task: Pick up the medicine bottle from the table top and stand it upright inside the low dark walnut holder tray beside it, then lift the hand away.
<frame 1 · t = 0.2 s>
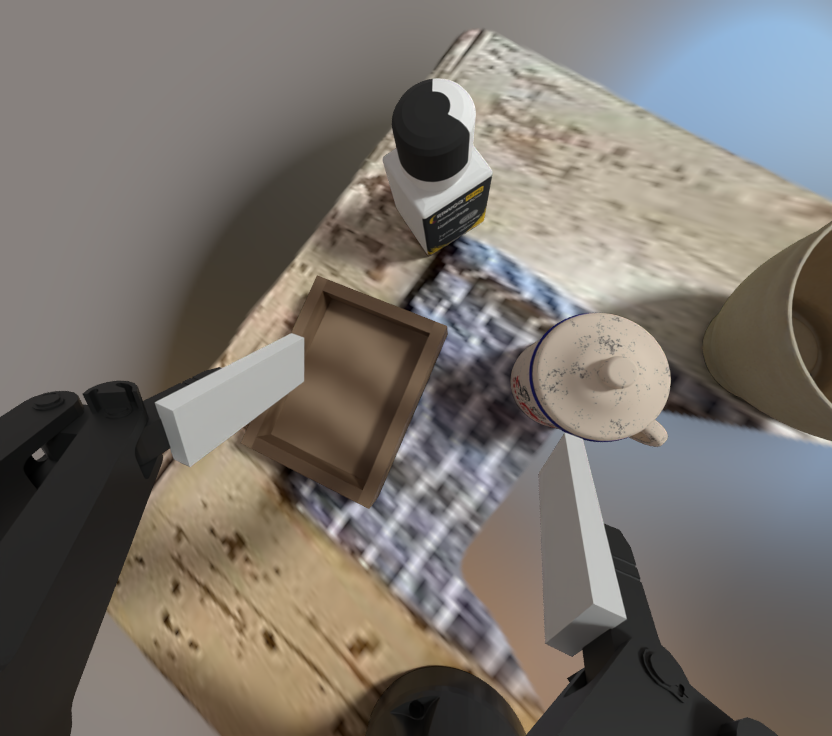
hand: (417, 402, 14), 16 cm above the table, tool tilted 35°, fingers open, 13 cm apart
teacup with lid: (566, 392, 29), on the table
medicine bottle: (439, 215, 32), on the table
planter bowl: (753, 352, 27), on the table
holder tray: (353, 387, 31), on the table
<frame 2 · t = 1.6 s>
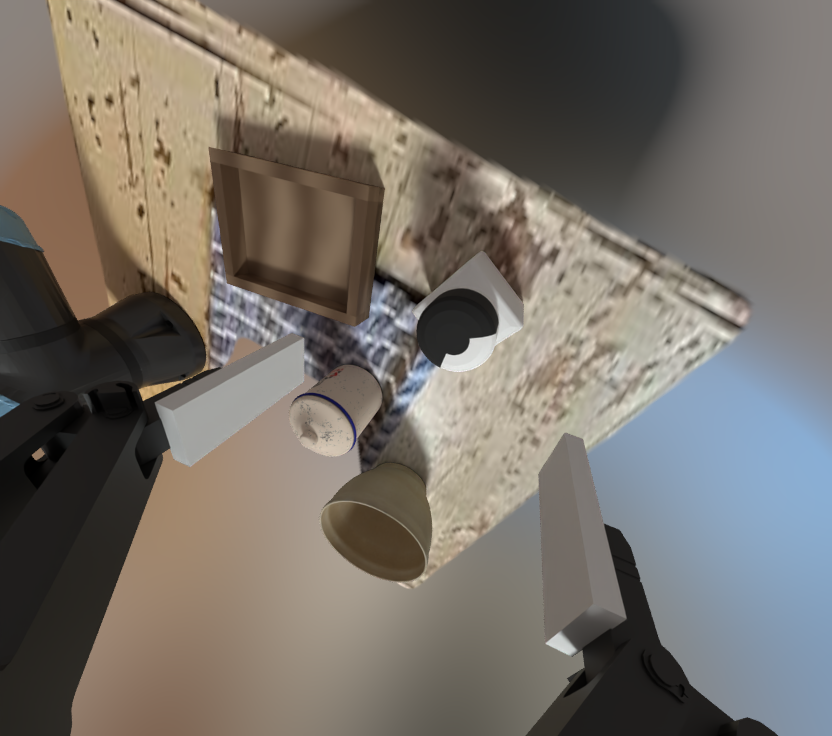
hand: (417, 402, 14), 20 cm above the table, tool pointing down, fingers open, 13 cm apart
teacup with lid: (353, 395, 44), on the table
medicine bottle: (476, 298, 32), on the table
planter bowl: (399, 481, 49), on the table
holder tray: (306, 240, 35), on the table
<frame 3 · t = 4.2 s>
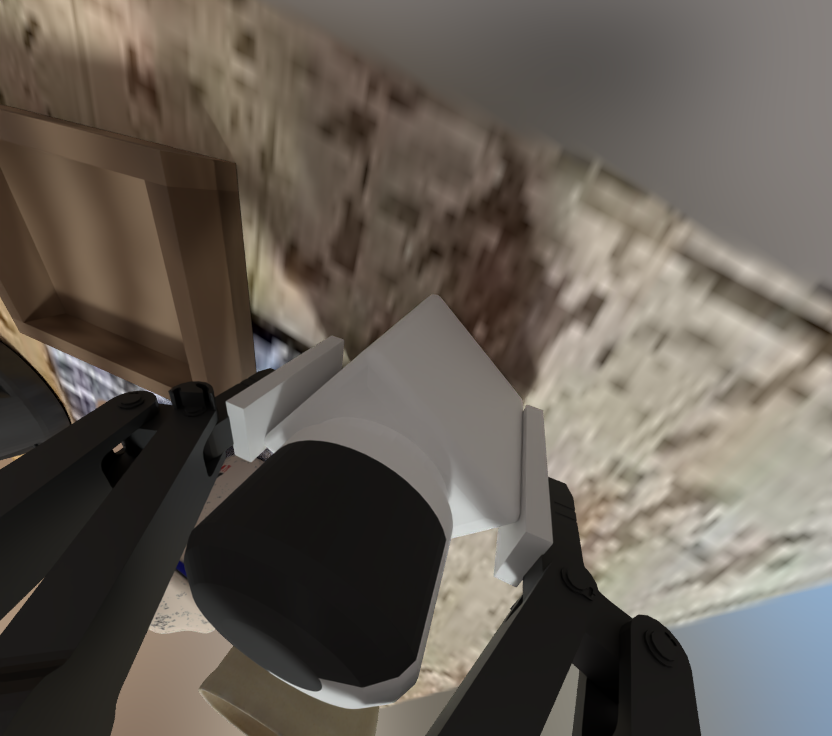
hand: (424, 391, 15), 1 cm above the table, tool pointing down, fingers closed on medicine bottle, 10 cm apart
teacup with lid: (262, 493, 28), on the table
medicine bottle: (431, 379, 16), on the table, touching gripper
planter bowl: (343, 602, 34), on the table
holder tray: (137, 261, 19), on the table
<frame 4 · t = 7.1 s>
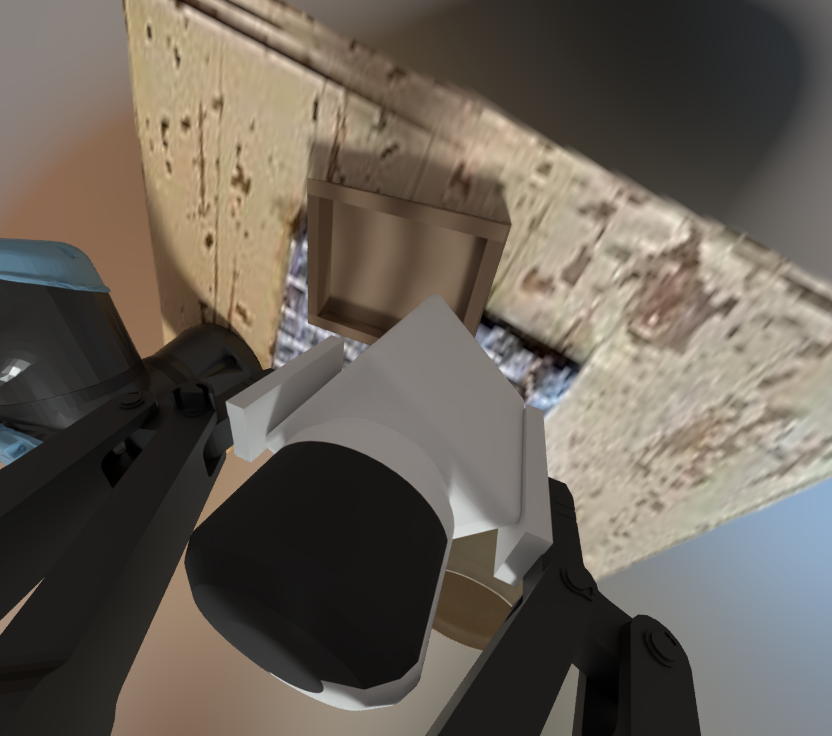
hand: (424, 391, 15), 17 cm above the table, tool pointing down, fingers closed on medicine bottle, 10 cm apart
medicine bottle: (432, 379, 16), point 15 cm above the table, touching gripper
planter bowl: (474, 530, 45), on the table
holder tray: (402, 277, 31), on the table
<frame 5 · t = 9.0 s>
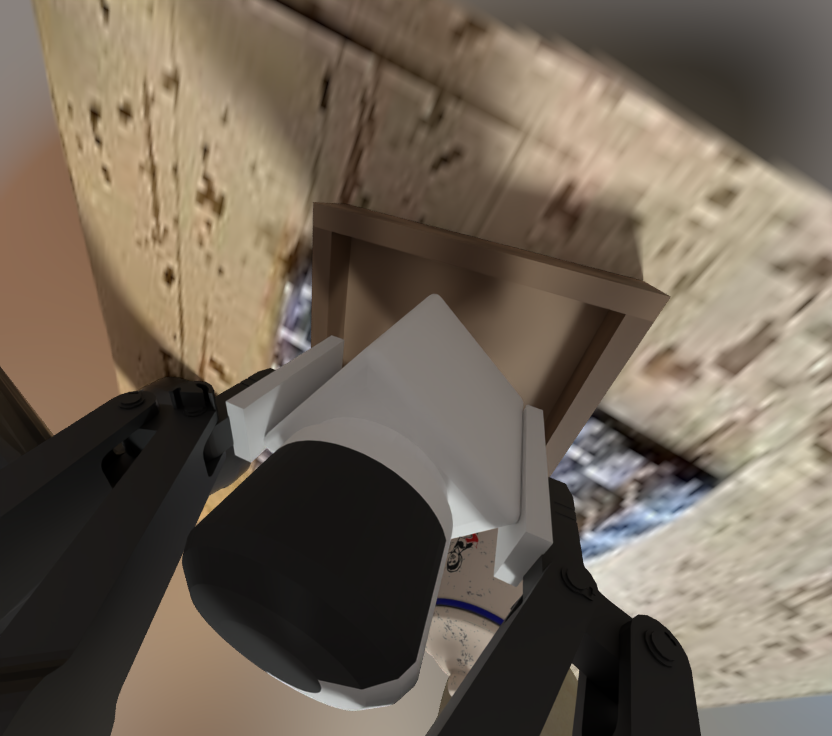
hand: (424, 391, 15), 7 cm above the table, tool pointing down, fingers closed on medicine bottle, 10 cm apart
teacup with lid: (474, 538, 30), on the table
medicine bottle: (431, 379, 16), point 5 cm above the table, touching gripper
planter bowl: (519, 636, 35), on the table
holder tray: (450, 343, 21), on the table
when the fingers open (4 cm above the table, at t = 10.4 s): medicine bottle drops 2 cm, resting on holder tray.
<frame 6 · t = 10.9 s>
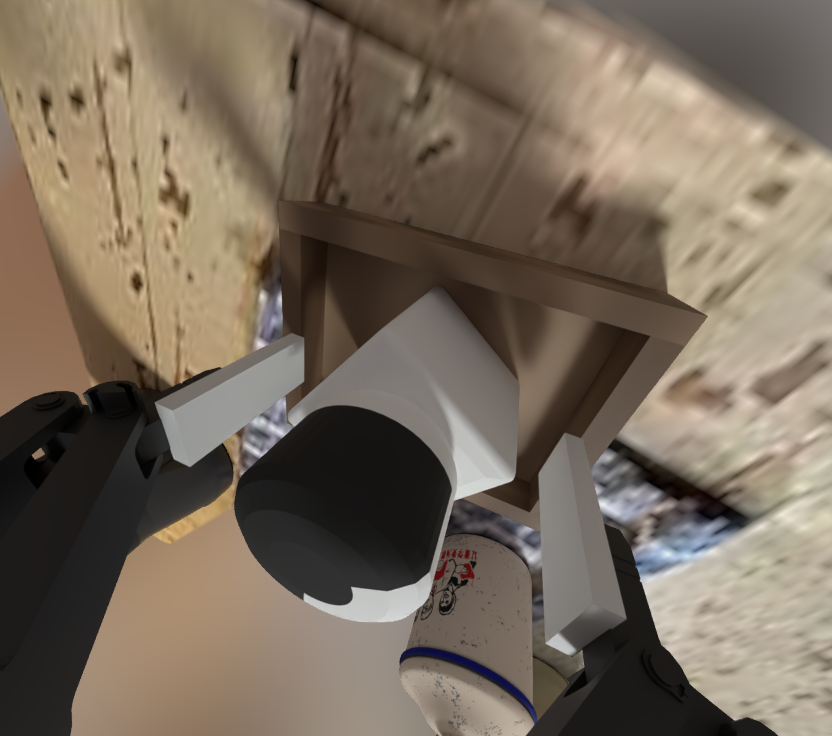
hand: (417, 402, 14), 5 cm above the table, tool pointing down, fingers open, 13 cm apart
teacup with lid: (471, 567, 28), on the table
medicine bottle: (435, 365, 18), point 1 cm above the table, touching holder tray
planter bowl: (520, 667, 33), on the table
holder tray: (442, 360, 19), on the table
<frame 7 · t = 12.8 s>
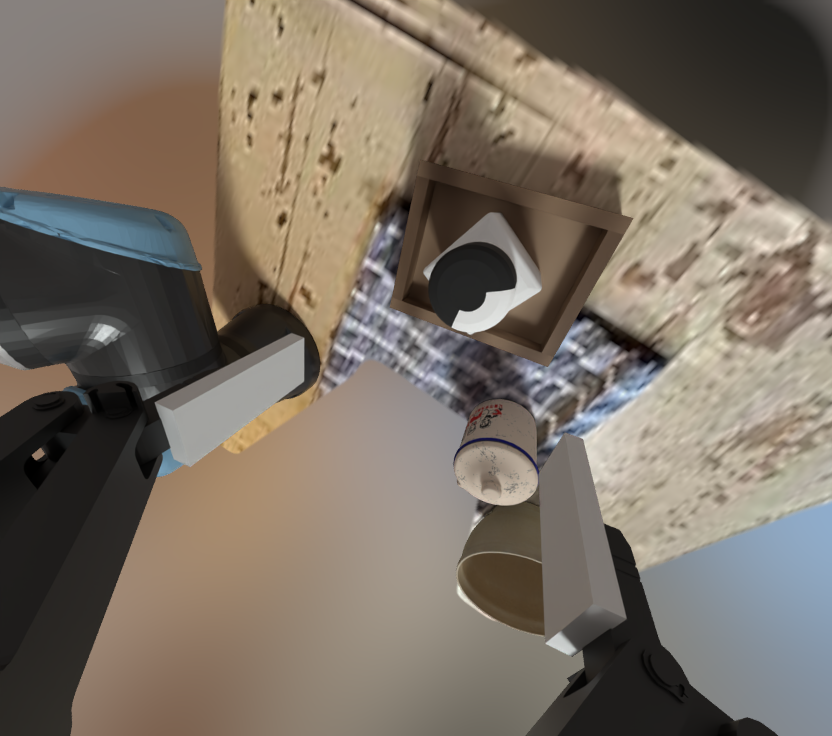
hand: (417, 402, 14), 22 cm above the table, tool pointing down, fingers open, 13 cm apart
teacup with lid: (494, 430, 40), on the table
medicine bottle: (490, 266, 30), point 1 cm above the table, touching holder tray
planter bowl: (522, 519, 46), on the table
holder tray: (493, 265, 31), on the table
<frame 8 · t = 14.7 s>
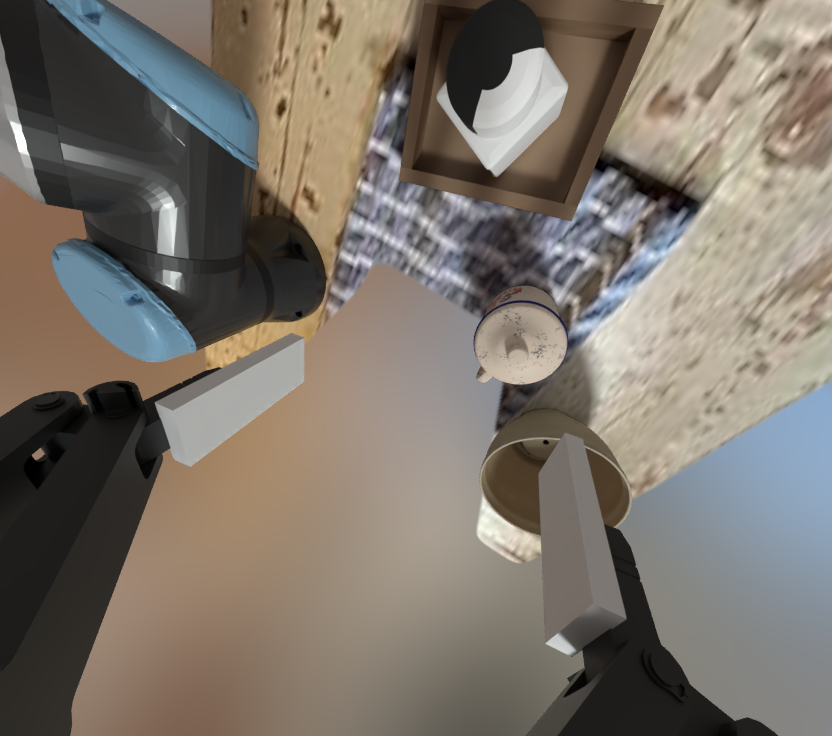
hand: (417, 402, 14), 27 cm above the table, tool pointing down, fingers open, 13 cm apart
teacup with lid: (512, 327, 38), on the table
medicine bottle: (504, 117, 28), point 1 cm above the table, touching holder tray
planter bowl: (544, 433, 43), on the table
holder tray: (507, 120, 29), on the table
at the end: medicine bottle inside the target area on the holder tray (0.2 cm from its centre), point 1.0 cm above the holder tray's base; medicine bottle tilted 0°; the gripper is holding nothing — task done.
